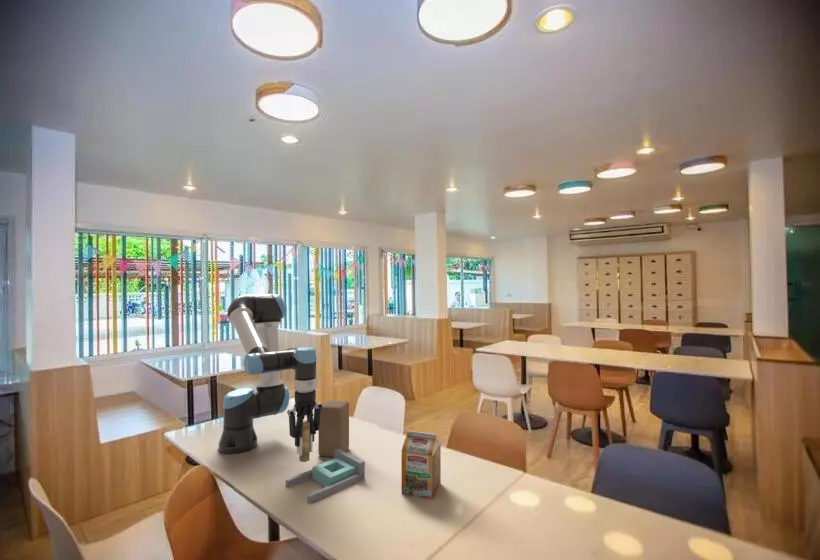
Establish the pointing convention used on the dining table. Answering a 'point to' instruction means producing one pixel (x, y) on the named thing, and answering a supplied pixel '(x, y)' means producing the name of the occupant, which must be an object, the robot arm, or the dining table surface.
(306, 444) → the dowel
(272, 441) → the dining table surface
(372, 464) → the dining table surface
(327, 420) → the block
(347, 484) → the track
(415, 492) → the milk carton
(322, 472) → the teal square ring
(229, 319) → the robot arm
